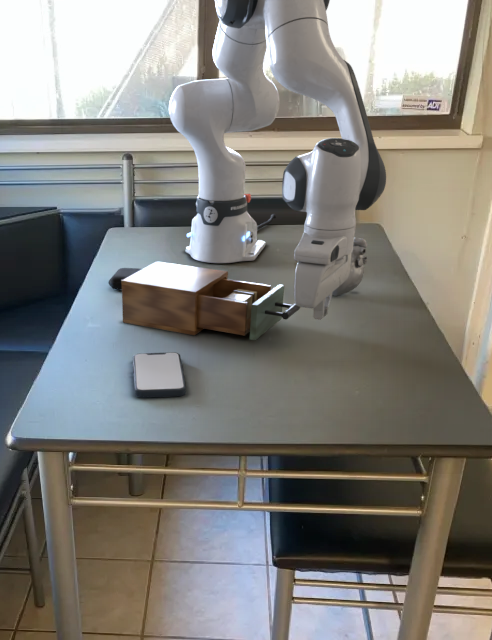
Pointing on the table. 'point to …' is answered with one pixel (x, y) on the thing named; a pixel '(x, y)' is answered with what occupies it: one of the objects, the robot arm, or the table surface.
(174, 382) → the smartphone
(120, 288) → the carrying case
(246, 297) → the bundle
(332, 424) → the table surface
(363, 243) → the heart
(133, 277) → the cabinet
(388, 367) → the table surface
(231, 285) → the drawer
